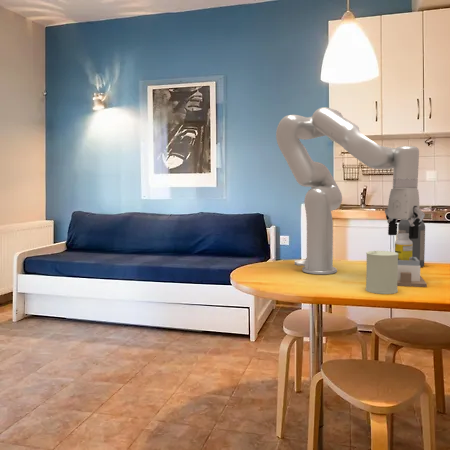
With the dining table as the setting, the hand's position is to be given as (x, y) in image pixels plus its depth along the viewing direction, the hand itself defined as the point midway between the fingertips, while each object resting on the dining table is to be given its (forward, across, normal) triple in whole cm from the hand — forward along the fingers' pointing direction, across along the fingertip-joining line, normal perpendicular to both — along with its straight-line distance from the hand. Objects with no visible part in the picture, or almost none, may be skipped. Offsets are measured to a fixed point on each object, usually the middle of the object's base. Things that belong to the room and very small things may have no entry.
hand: (402, 236), depth 147 cm
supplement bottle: (+9, +1, 0) cm, 9 cm away
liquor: (+15, -21, +23) cm, 35 cm away
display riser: (+15, +1, 0) cm, 15 cm away
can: (+15, +9, -15) cm, 23 cm away
